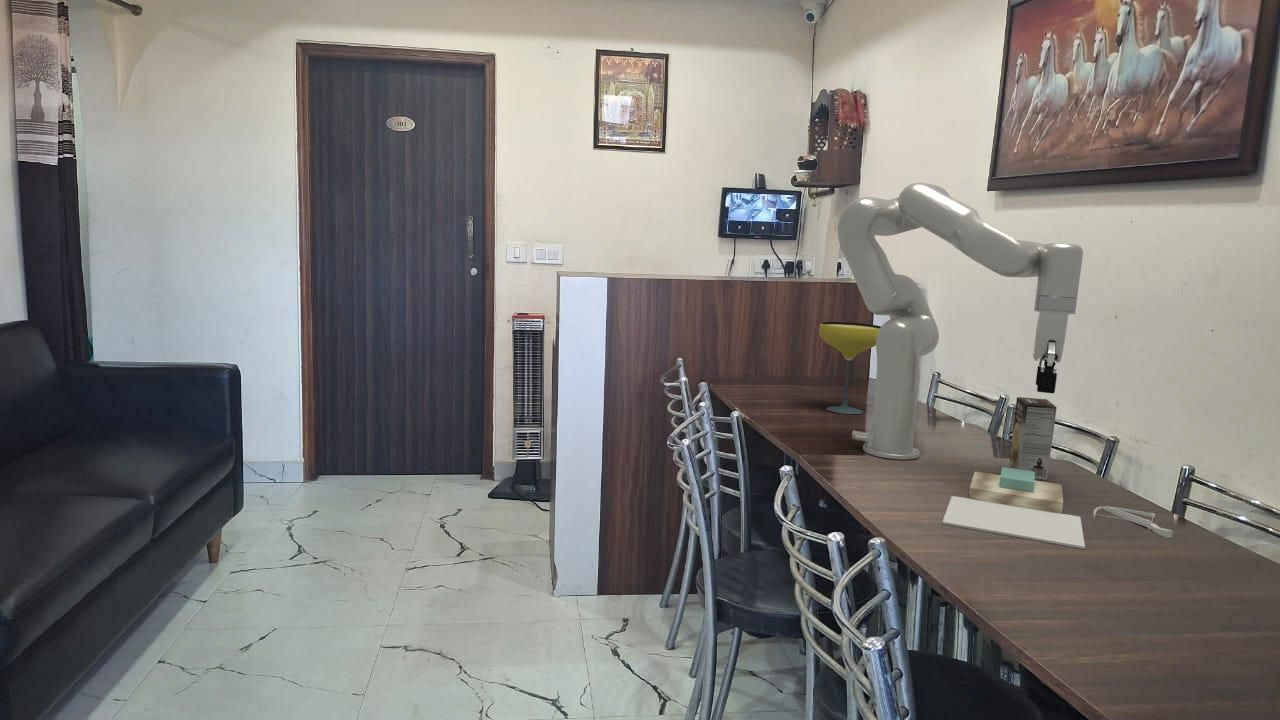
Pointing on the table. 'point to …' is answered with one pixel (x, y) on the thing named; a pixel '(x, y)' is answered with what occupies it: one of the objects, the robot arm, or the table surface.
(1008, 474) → the teal tile
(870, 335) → the cocktail glass
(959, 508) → the white mat
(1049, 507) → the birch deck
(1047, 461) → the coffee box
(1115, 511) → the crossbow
